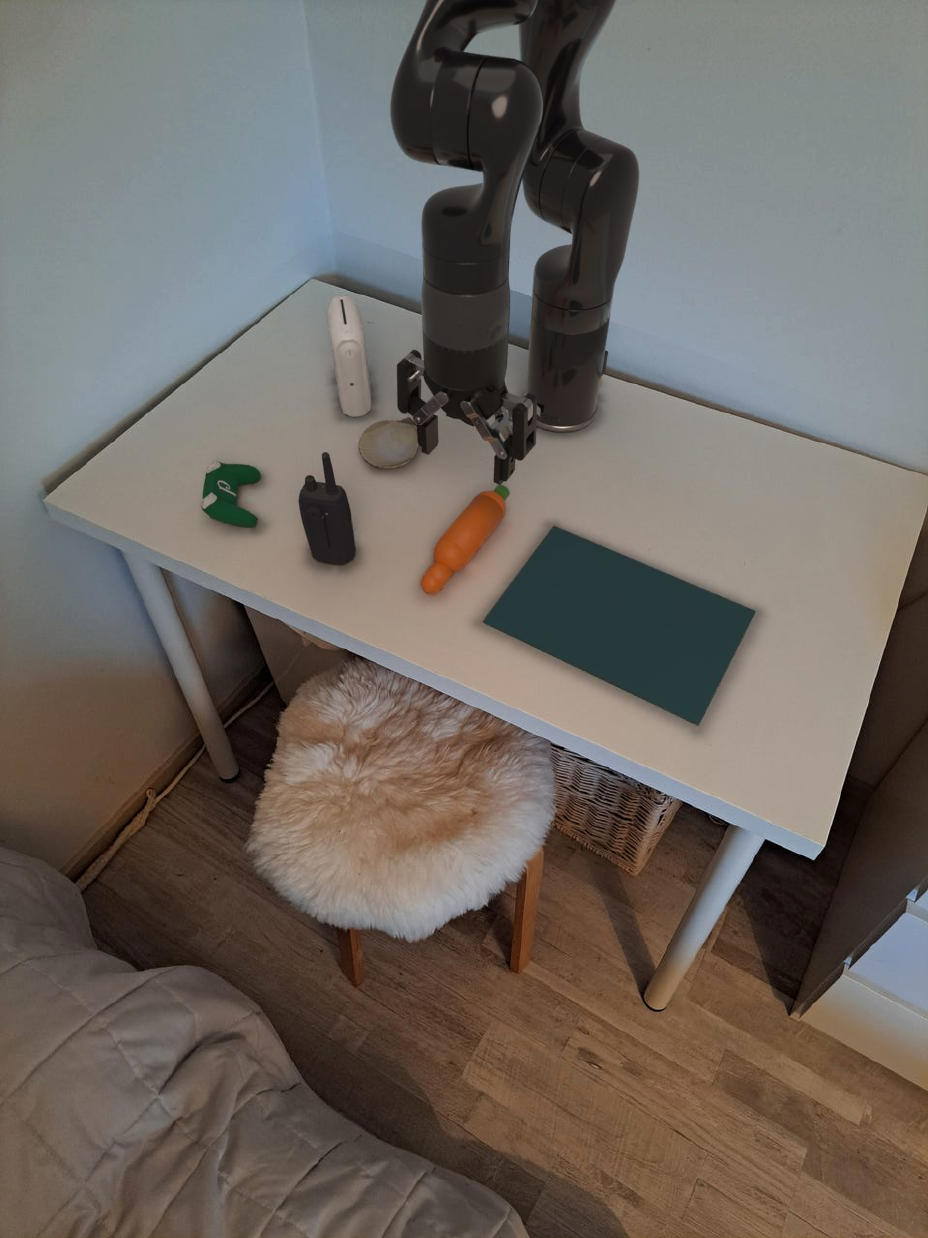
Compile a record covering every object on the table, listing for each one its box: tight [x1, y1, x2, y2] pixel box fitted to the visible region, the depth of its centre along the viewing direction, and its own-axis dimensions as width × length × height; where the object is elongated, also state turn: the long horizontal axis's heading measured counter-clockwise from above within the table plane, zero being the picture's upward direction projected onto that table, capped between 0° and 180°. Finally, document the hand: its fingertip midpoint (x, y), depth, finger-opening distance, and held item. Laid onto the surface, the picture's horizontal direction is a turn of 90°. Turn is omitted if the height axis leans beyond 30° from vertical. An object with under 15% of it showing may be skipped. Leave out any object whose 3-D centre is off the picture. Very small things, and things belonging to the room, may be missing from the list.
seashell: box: [358, 416, 420, 470], centre depth 103 cm, size 8×3×8 cm
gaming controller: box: [201, 459, 262, 528], centre depth 97 cm, size 9×4×6 cm
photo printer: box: [326, 295, 372, 418], centre depth 106 cm, size 10×4×12 cm, turn 10°
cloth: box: [482, 525, 757, 726], centre depth 88 cm, size 16×24×1 cm, turn 58°
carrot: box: [420, 484, 511, 595], centre depth 93 cm, size 17×4×4 cm, turn 148°
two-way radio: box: [298, 451, 357, 566], centre depth 87 cm, size 6×4×15 cm
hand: (465, 463), depth 85 cm, fingers open, 8 cm apart
